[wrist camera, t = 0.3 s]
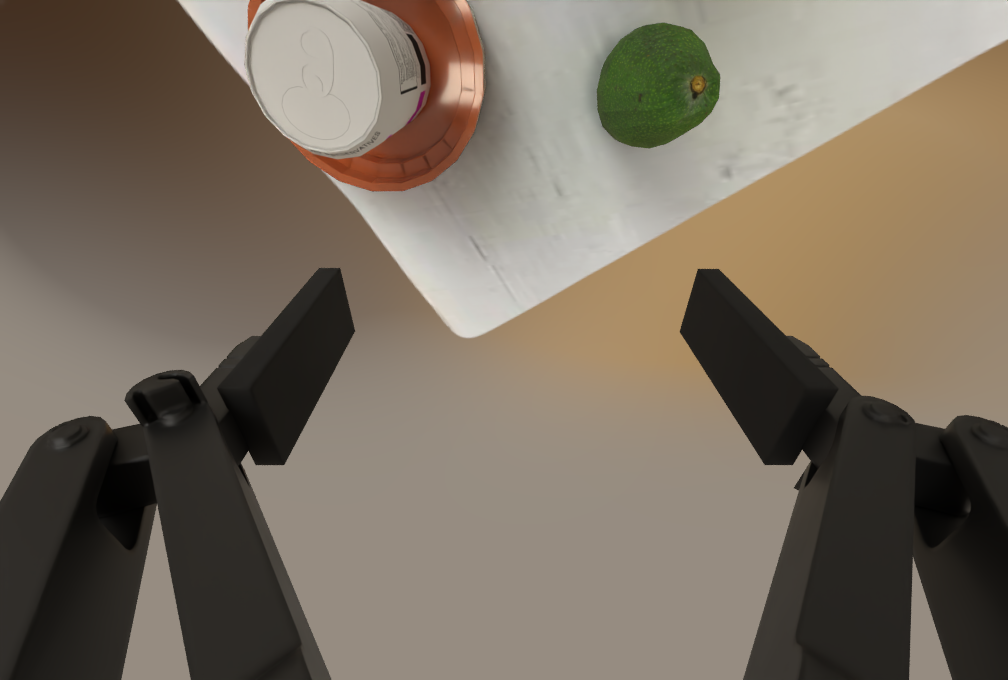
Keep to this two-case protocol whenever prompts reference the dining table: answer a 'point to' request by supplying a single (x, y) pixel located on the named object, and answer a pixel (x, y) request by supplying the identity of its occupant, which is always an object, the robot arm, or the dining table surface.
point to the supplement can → (335, 73)
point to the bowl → (449, 107)
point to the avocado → (656, 85)
